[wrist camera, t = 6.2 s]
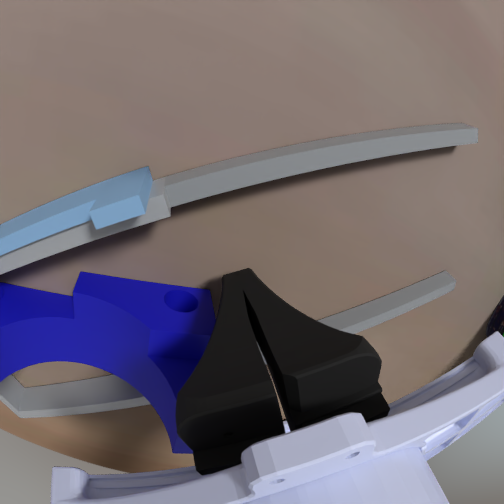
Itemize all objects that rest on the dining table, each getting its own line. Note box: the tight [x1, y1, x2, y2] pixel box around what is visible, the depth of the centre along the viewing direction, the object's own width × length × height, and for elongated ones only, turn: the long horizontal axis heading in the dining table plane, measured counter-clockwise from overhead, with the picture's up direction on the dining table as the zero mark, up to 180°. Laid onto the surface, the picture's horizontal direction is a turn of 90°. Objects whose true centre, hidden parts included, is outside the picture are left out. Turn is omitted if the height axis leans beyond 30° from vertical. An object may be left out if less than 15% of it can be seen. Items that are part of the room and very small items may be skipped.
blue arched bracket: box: [0, 272, 216, 454], centre depth 11 cm, size 12×4×6 cm, turn 73°
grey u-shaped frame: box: [0, 123, 478, 418], centre depth 13 cm, size 11×30×2 cm, turn 101°
